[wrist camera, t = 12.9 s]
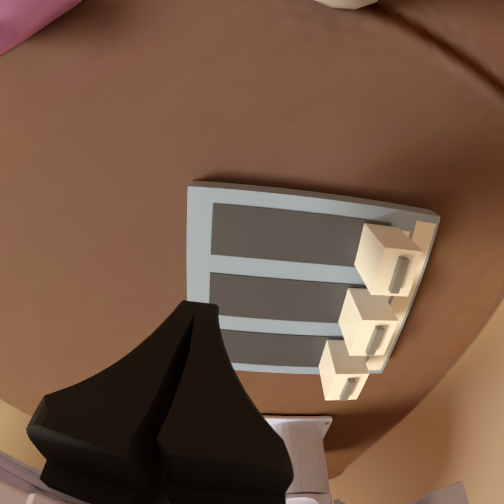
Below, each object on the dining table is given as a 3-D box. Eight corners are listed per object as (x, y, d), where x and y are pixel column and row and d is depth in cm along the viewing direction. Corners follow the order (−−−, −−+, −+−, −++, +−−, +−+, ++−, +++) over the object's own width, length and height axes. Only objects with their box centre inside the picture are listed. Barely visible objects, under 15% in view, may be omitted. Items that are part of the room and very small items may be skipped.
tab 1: (347, 366, 23) (357, 403, 19) (318, 365, 23) (325, 404, 19) (357, 340, 22) (370, 378, 18) (326, 339, 22) (336, 378, 18)
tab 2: (387, 267, 19) (410, 300, 16) (354, 264, 19) (373, 298, 16) (398, 227, 18) (426, 255, 14) (363, 222, 18) (387, 250, 14)
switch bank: (376, 361, 25) (381, 373, 24) (192, 352, 25) (189, 365, 23) (430, 209, 19) (441, 217, 18) (193, 180, 19) (187, 186, 17)
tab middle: (369, 322, 21) (385, 359, 17) (338, 321, 21) (350, 360, 17) (380, 289, 20) (400, 324, 16) (348, 287, 20) (364, 324, 16)
